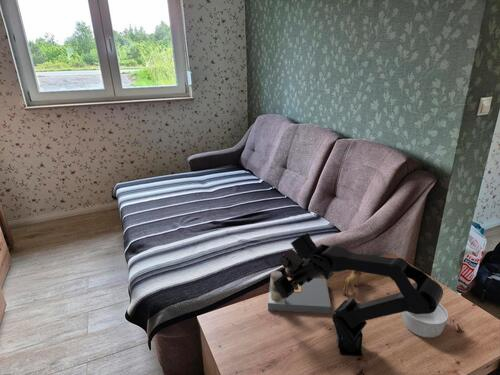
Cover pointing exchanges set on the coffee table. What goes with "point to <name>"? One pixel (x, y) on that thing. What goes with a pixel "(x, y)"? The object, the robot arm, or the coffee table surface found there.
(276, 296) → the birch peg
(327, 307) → the gray peg hole board
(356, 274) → the lion figurine
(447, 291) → the coffee table surface
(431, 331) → the ramekin
